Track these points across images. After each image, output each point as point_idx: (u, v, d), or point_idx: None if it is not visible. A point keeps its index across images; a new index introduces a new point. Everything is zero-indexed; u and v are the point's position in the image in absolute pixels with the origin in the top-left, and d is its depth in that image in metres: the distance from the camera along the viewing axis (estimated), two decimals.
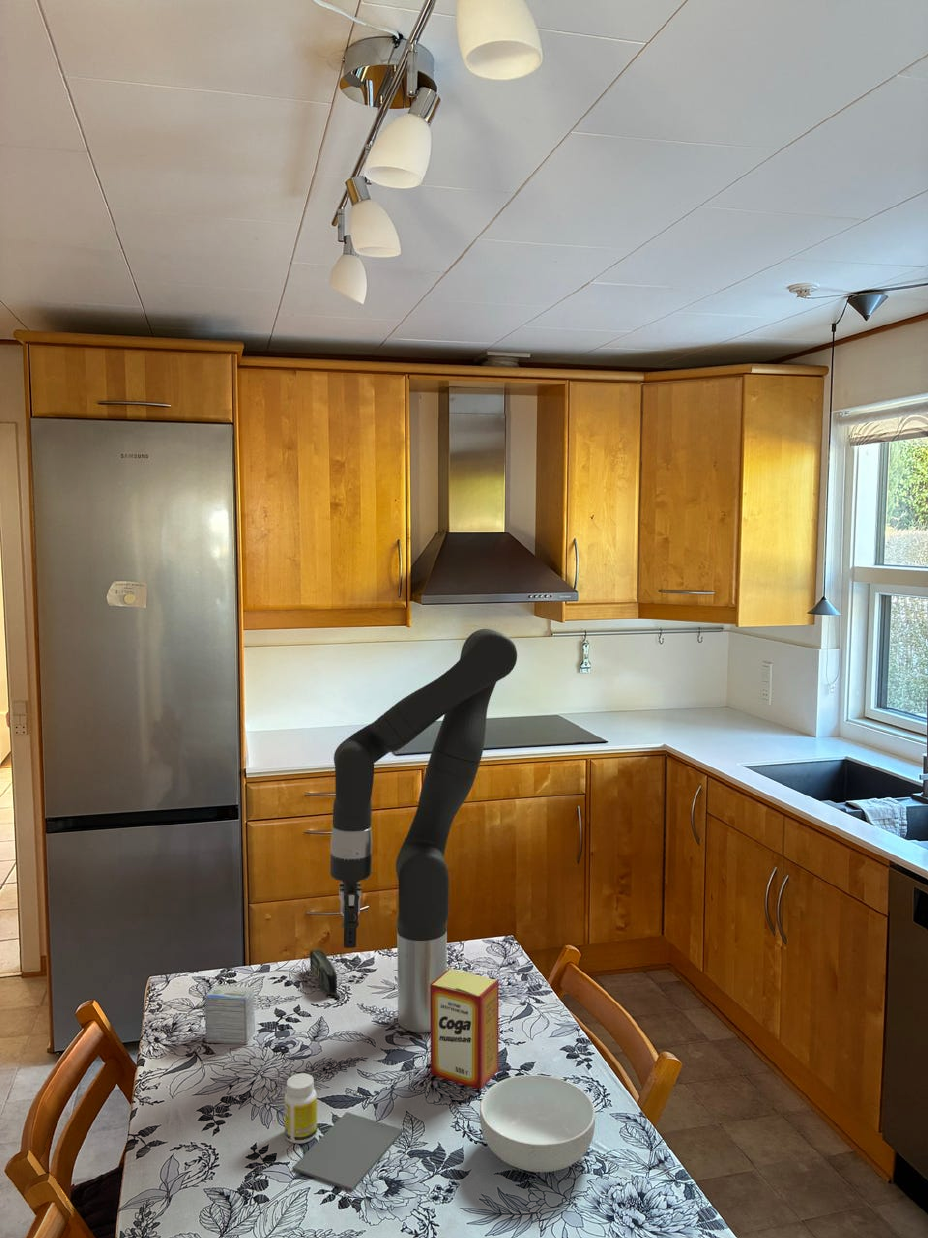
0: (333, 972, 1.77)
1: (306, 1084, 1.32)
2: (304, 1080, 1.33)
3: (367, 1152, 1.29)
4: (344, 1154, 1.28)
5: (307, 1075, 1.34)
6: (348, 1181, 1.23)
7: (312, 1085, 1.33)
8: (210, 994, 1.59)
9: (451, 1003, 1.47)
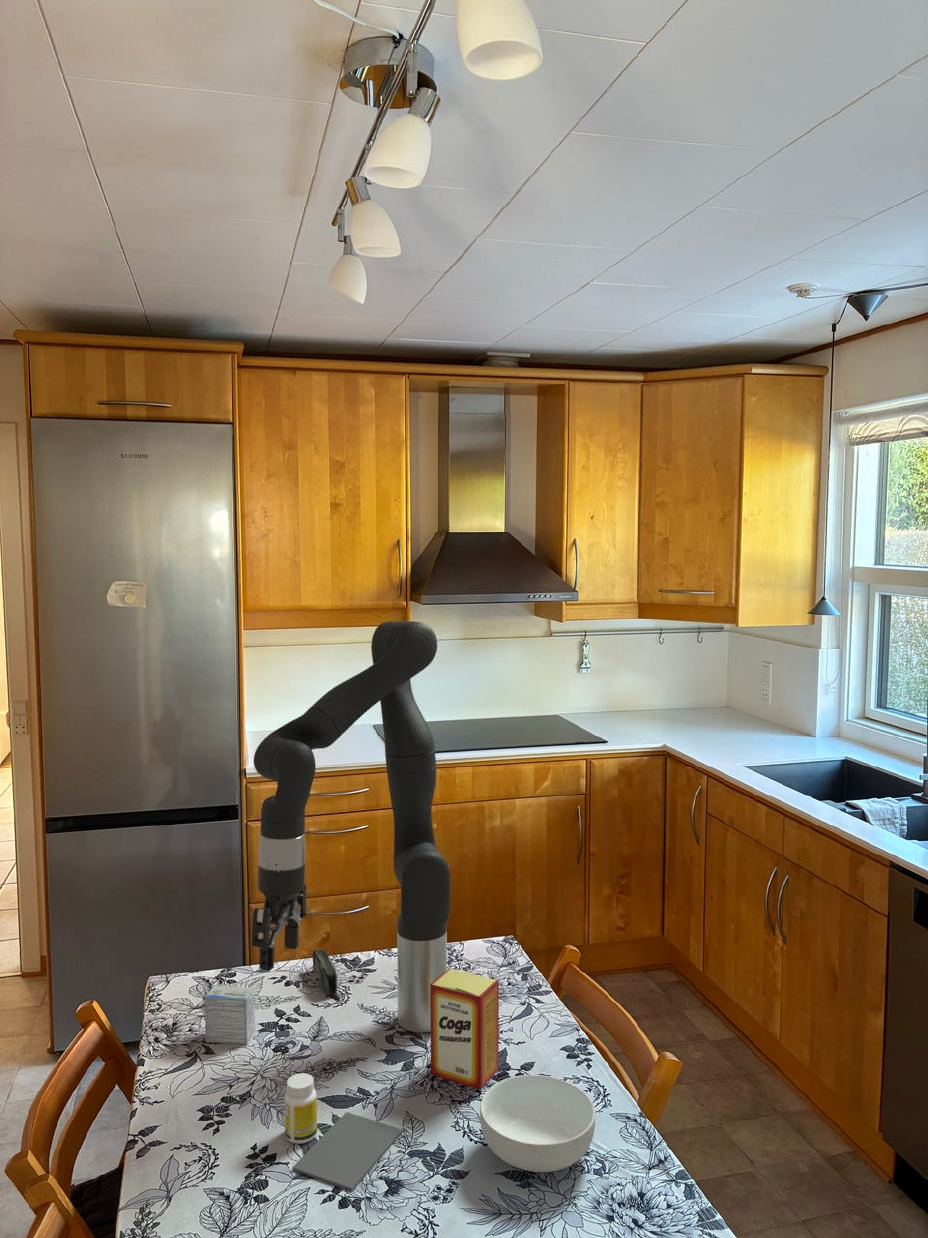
0: (333, 972, 1.77)
1: (306, 1084, 1.32)
2: (304, 1080, 1.33)
3: (367, 1152, 1.29)
4: (344, 1154, 1.28)
5: (307, 1075, 1.34)
6: (348, 1181, 1.23)
7: (312, 1085, 1.33)
8: (210, 994, 1.59)
9: (451, 1003, 1.47)
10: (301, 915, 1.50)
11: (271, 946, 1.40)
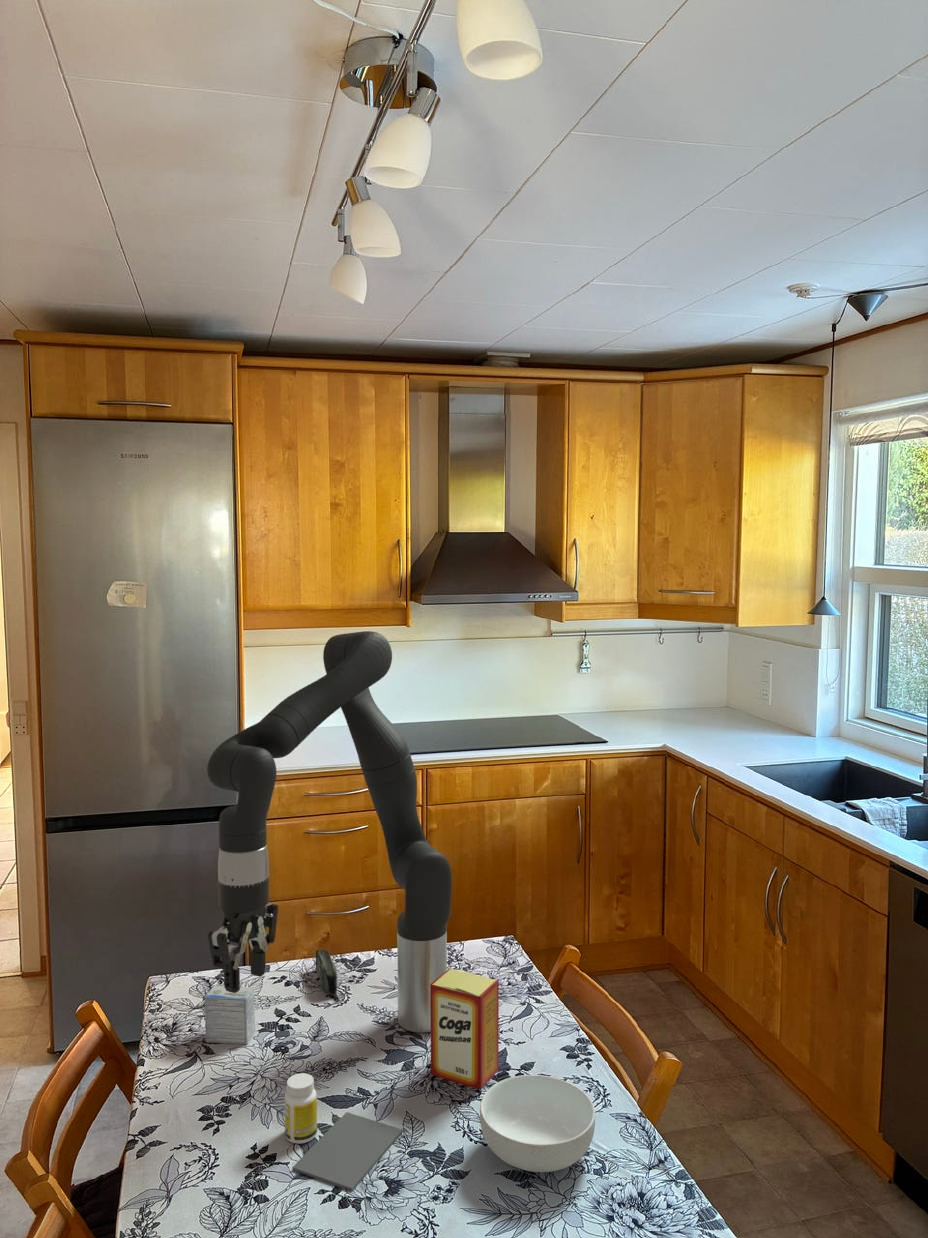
0: (333, 973, 1.76)
1: (306, 1084, 1.32)
2: (304, 1080, 1.33)
3: (367, 1152, 1.29)
4: (344, 1154, 1.28)
5: (307, 1075, 1.34)
6: (348, 1181, 1.23)
7: (312, 1085, 1.33)
8: (210, 994, 1.59)
9: (451, 1003, 1.47)
10: (268, 939, 1.40)
11: (235, 968, 1.32)
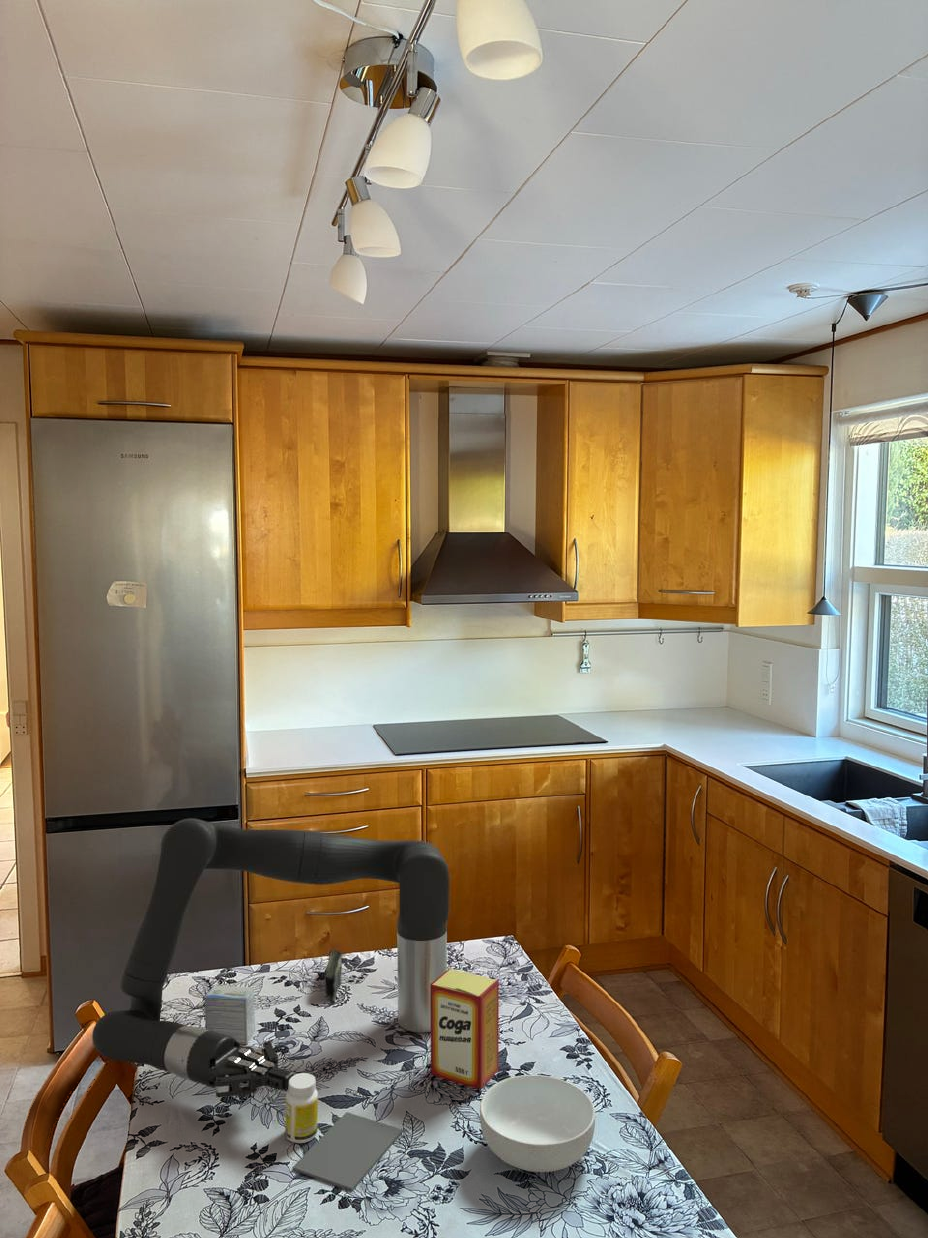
0: (332, 975, 1.75)
1: (308, 1085, 1.32)
2: (306, 1080, 1.33)
3: (367, 1152, 1.29)
4: (344, 1154, 1.28)
5: (309, 1075, 1.34)
6: (348, 1181, 1.23)
7: (314, 1085, 1.32)
8: (210, 994, 1.59)
9: (451, 1003, 1.47)
10: (270, 1060, 1.38)
11: (264, 1071, 1.35)
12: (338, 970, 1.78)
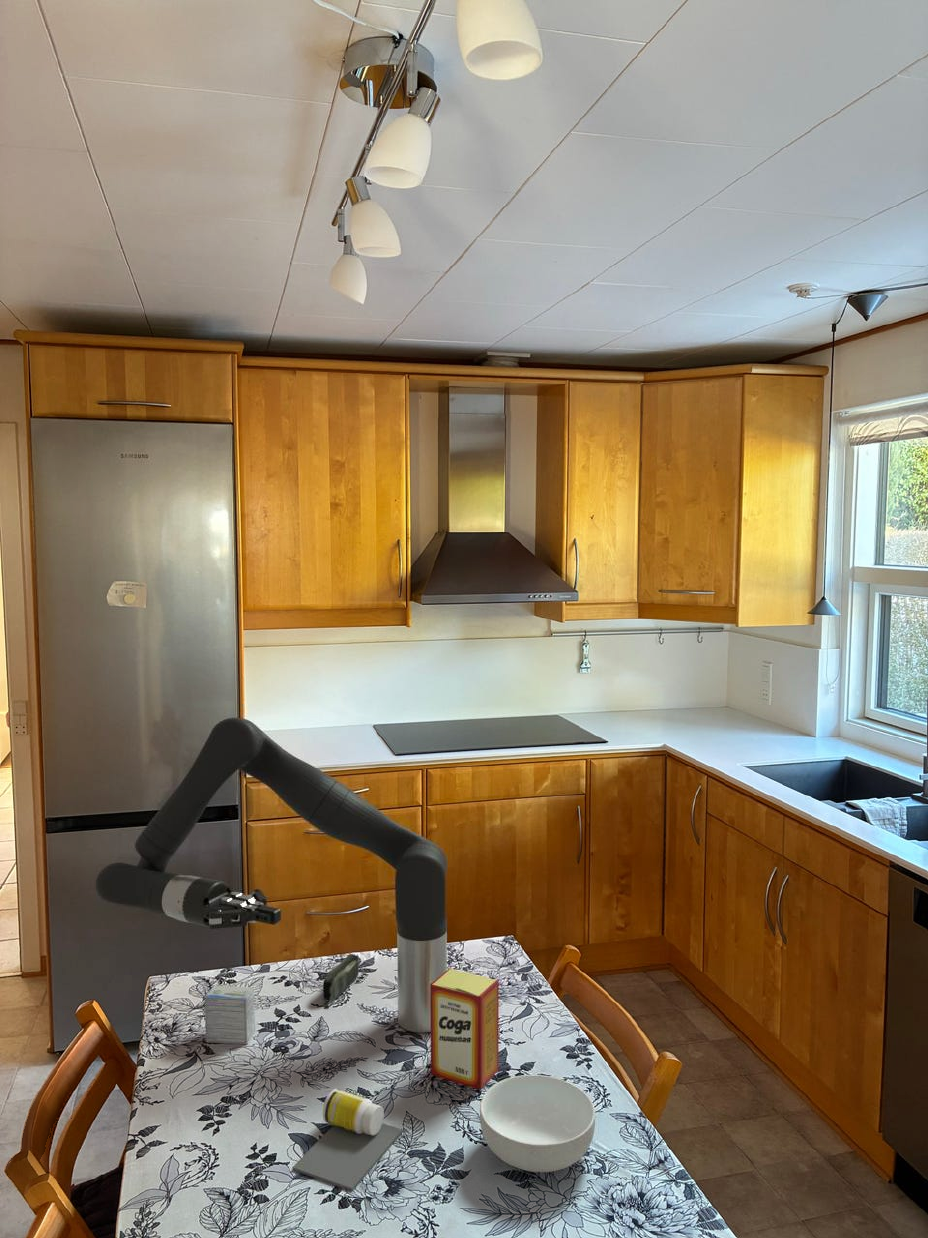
0: (330, 979, 1.74)
1: (371, 1121, 1.31)
2: (374, 1125, 1.32)
3: (367, 1152, 1.29)
4: (344, 1154, 1.28)
5: (375, 1132, 1.32)
6: (348, 1181, 1.23)
7: (367, 1127, 1.31)
8: (210, 994, 1.59)
9: (451, 1003, 1.47)
10: (260, 901, 1.50)
11: (254, 908, 1.46)
12: (341, 975, 1.76)
